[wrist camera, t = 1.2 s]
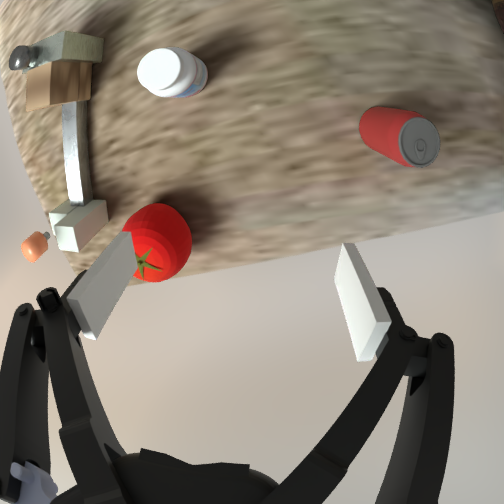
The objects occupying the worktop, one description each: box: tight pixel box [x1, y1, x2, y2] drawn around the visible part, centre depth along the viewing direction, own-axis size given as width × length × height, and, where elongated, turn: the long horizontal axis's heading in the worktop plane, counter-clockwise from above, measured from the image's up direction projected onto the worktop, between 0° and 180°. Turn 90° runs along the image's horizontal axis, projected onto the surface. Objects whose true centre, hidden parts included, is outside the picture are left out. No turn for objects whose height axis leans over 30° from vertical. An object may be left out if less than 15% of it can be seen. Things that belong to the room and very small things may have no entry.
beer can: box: [359, 106, 440, 168], centre depth 28 cm, size 7×7×12 cm
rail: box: [9, 31, 104, 207], centre depth 27 cm, size 27×8×13 cm, turn 175°
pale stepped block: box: [49, 199, 109, 252], centre depth 37 cm, size 4×9×10 cm, turn 85°
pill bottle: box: [137, 47, 208, 97], centre depth 26 cm, size 6×6×11 cm
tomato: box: [122, 203, 192, 282], centre depth 38 cm, size 10×11×11 cm
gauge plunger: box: [21, 231, 50, 262], centre depth 31 cm, size 3×3×5 cm
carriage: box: [26, 61, 92, 112], centre depth 25 cm, size 6×5×10 cm
